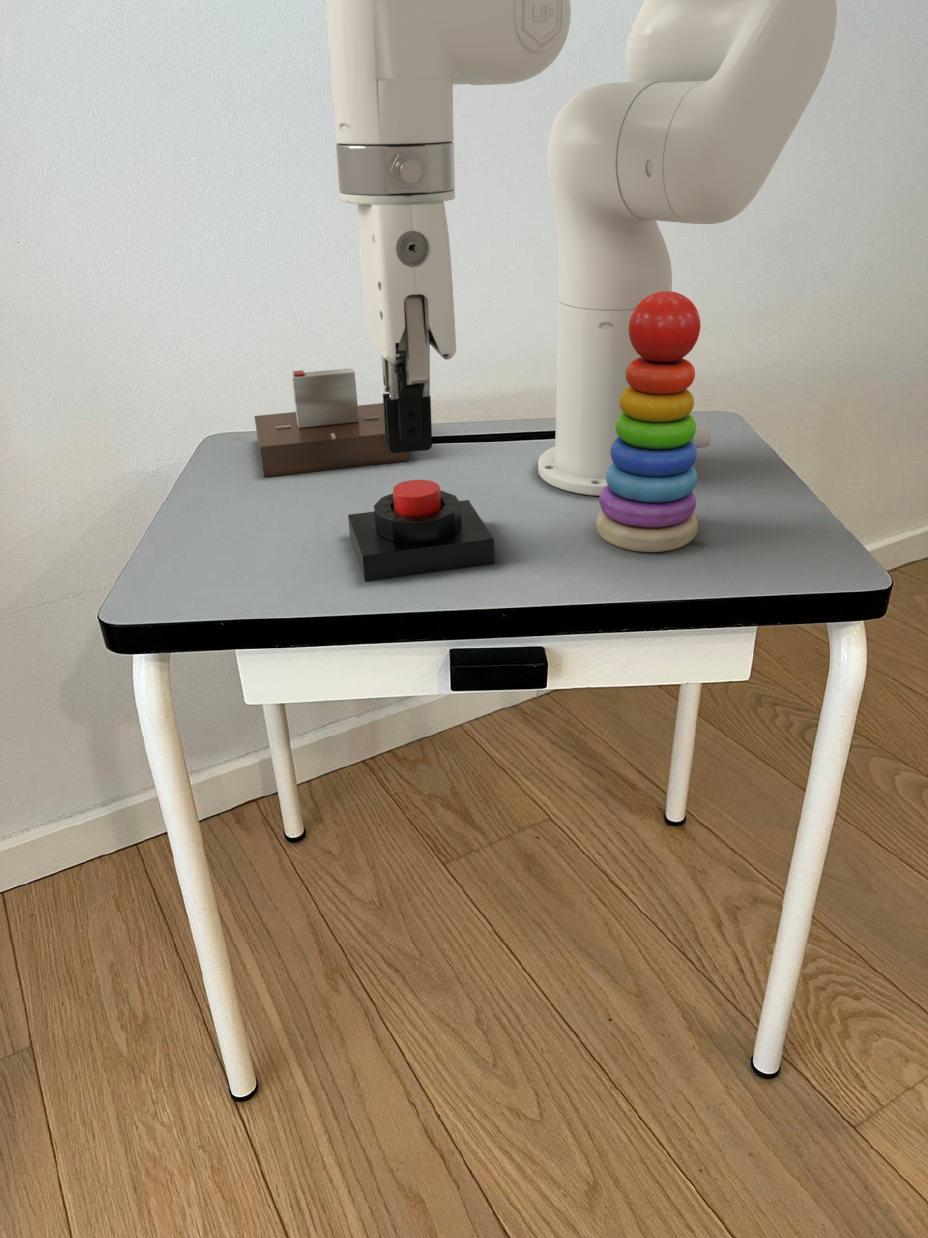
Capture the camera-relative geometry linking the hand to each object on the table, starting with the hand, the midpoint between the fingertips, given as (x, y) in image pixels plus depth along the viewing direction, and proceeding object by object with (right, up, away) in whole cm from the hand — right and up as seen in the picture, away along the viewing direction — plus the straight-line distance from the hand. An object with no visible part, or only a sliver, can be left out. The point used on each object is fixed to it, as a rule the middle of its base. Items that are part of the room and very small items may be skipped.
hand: (408, 447), depth 70 cm
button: (+1, -4, +3) cm, 5 cm away
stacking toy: (+19, -6, +6) cm, 21 cm away
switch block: (+1, -7, +5) cm, 9 cm away
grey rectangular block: (-9, +7, +24) cm, 27 cm away
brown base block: (-9, +4, +25) cm, 27 cm away
